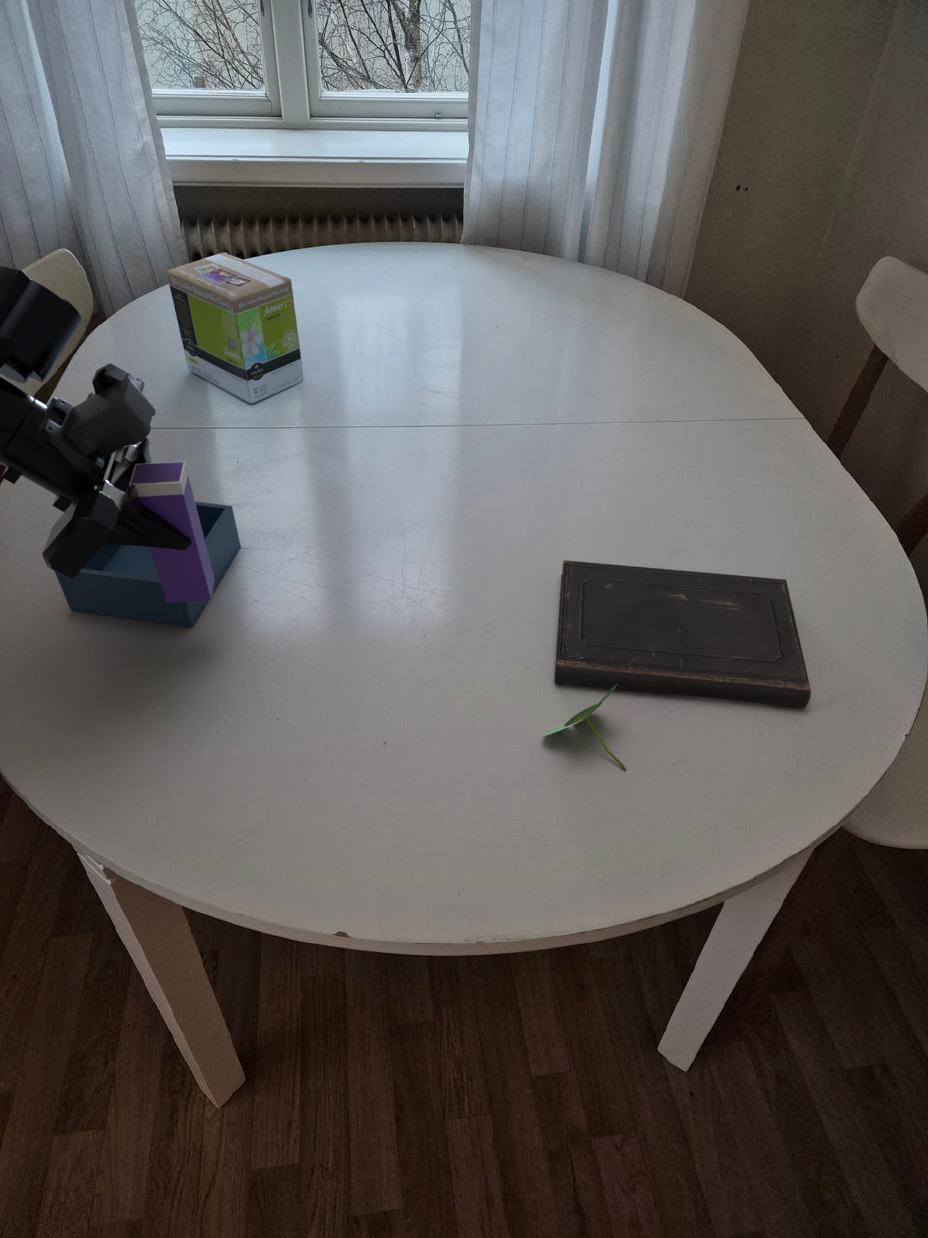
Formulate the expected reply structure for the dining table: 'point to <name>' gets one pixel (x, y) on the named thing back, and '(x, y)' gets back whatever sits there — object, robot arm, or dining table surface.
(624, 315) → the dining table surface
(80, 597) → the open blue box
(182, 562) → the purple white-banded prism
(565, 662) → the hardcover book
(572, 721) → the seedling
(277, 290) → the tea box
